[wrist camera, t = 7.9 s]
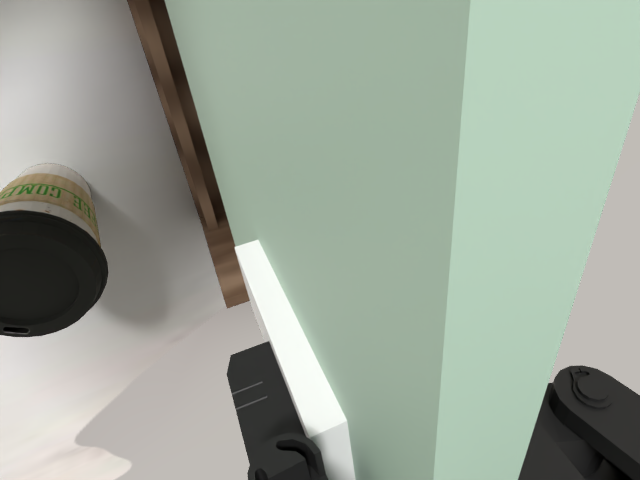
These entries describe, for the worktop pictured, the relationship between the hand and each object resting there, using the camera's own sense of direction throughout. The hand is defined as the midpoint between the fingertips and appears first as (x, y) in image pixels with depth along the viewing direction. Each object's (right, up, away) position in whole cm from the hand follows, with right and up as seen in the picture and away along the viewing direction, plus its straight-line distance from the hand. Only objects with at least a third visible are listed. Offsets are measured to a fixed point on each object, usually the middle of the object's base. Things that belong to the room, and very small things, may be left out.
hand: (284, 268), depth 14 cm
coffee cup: (-24, +5, +27) cm, 36 cm away
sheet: (-5, +7, +10) cm, 13 cm away
